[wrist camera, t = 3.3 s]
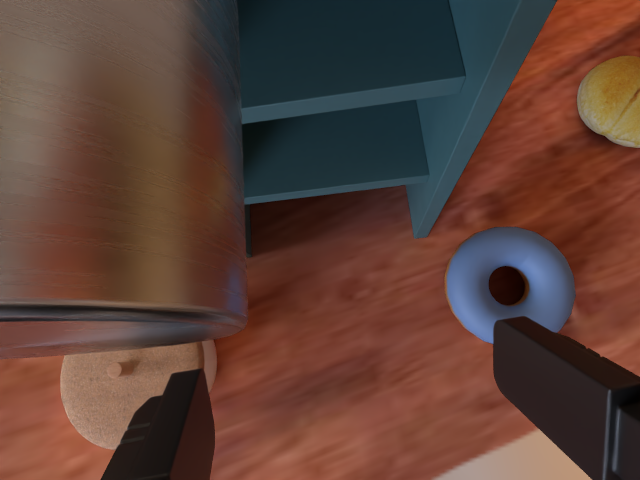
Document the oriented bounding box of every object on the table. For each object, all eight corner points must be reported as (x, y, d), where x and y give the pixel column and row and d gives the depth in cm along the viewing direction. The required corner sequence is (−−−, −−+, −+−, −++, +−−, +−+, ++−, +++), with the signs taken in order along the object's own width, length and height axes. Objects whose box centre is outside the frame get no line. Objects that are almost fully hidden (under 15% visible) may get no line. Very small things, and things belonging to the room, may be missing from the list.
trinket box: (124, 312, 37) (49, 300, 28) (232, 300, 37) (189, 283, 28) (118, 434, 34) (32, 463, 25) (236, 423, 34) (189, 450, 25)
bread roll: (604, 57, 39) (630, 26, 36) (688, 108, 37) (725, 80, 33) (552, 110, 38) (573, 84, 35) (635, 166, 36) (667, 144, 32)
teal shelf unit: (427, 237, 36) (709, -273, 7) (239, 258, 38) (-217, -84, 8) (396, 61, 42) (475, -637, 12) (235, 85, 43) (-43, -488, 14)
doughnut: (529, 371, 32) (554, 374, 28) (419, 309, 35) (428, 303, 30) (576, 270, 34) (608, 258, 30) (470, 217, 36) (484, 198, 32)
